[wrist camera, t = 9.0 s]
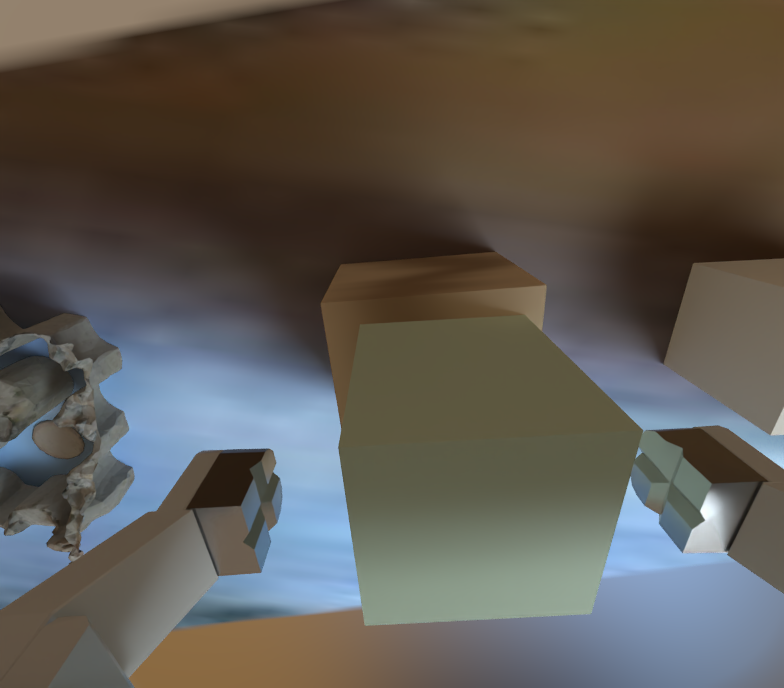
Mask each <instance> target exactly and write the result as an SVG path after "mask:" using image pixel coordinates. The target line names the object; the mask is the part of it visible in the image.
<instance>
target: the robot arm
mask: <svg viewBox="0 0 784 688" xmlns="http://www.w3.org/2000/svg"><path fill="white" fill-rule="evenodd" d="M639 448H640V450H641V452H642V453H641V454H640V455H639V456H638V457H637V458H636V459H635V461H634V465H633V468H632V472H631V475H630V476H631V481H632V486H633V488H634V490H635V492H636V495H637V496H638V498H639V499H640V500H641V501H642V503H643V504H644V505H645V506H646V507H648V508H650V509H651V510H653V511H655V512H656V513H658V514H659V524H660V526H661V527H662V528H663V529H664V531H665V532H666V533H667V534H668V536H669V537H670V538H671V539H672V541H673V542H674V543H675V544H676V546H677V547H678V548H679V549H680V551H681V552H682V553H727V552H728V554H727V555H728V556H730V557H731V558H733V559H734V560H736V561H737V562H738V563H740V564H742V565H743V566H744V567H746V568H747V569H749V570H750V571H751V572H753V573H754V574H756V575H757V576H759V577H760V578H762V579H763V580H765V581H766V582H767V583H769V584H770V585H772V586H773V587H775V588H776V589H778V590H779V591H781V592H782V593H784V469H783V468H781V467H780V466H778V465H777V464H776V463H774V462H773V461H772V460H770V459H769V458H767V457H766V456H765V455H763V454H762V453H760V452H759V451H758V450H756V449H755V448H754V447H752V446H751V445H749V444H748V443H747V442H745V441H744V440H743V439H741V438H740V437H738V436H737V435H736V434H734V433H733V432H731V431H730V430H729V429H727V428H724V427H721V426H704V427H693V428H680V429H662V430H646V431H645V432H644V433H643V434H642V436H641V440H640V443H639ZM275 465H276V460H275V456H274V453H273V451H272V450H271V449H233V450H209V451H201V452H199V453H198V454H196V455H195V457H194V458H193V460H192V461H191V462H190V464H189V465H188V467H187V468H186V470H185V471H184V472H183V474H182V475H181V477H180V478H179V480H178V481H177V482H176V484H175V485H174V487H173V488H172V490H171V491H170V492H169V494H168V495H167V497H166V498H165V500H164V501H163V502H162V504H161V505H160V507H159V508H158V510H157V511H155V512H148V513H146V514H145V515H143V516H142V517H140V518H139V519H137V520H135V521H134V522H132V523H131V524H129V525H128V526H126V527H125V528H123V529H122V530H120V531H119V532H117V533H116V534H114V535H113V536H111V537H110V538H108V539H107V540H105V541H104V542H102V543H101V544H99V545H98V546H96V547H95V548H93V549H92V550H90V551H89V552H87V553H86V554H84V555H83V556H81V557H80V558H78V559H77V560H75V561H74V562H72V563H71V564H69V565H68V566H66V567H65V568H63V569H62V570H60V571H59V572H57V573H56V574H54V575H53V576H51V577H50V578H48V579H47V580H45V581H44V582H42V583H41V584H39V585H38V586H36V587H35V588H33V589H32V590H30V591H29V592H27V593H26V594H24V595H23V596H21V597H20V598H18V599H17V600H15V601H14V602H12V603H11V604H9V605H8V606H6V607H5V608H3V609H2V610H0V688H134V686H133V685H132V683H131V682H130V680H129V679H128V678H129V677H130V676H131V675H132V674H133V672H134V671H135V670H136V669H137V668H138V667H139V666H140V665H141V664H142V663H143V661H144V660H145V659H146V658H147V657H148V656H149V655H150V654H151V653H152V651H153V650H154V649H155V648H156V647H157V646H158V645H159V644H160V643H161V642H162V640H163V639H164V638H165V637H166V636H167V635H168V634H169V633H170V632H171V630H172V629H173V628H174V627H175V626H176V625H177V624H178V623H179V622H180V621H181V619H182V618H183V617H184V616H185V615H186V614H187V613H188V612H189V611H190V609H191V608H192V607H193V606H194V605H195V604H196V603H197V602H198V601H199V600H200V598H201V597H202V596H203V595H204V594H205V593H206V592H207V591H208V590H209V588H210V587H211V586H212V585H213V584H214V583H215V582H216V581H217V580H218V576H225V575H238V574H251V573H261V572H262V569H263V566H264V563H265V559H266V556H267V553H268V550H269V547H270V544H271V539H270V535H269V532H268V531H269V530H270V529H271V528H272V527H273V526H274V525H276V524H277V522H278V519H279V515H280V512H281V504H282V486H281V481H280V478H279V477H278V476H277V475H276V474H274V473H273V470H274V467H275Z"/></svg>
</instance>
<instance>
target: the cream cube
mask: <svg viewBox="0 0 784 688" xmlns="http://www.w3.org/2000/svg"><path fill="white" fill-rule="evenodd" d="M664 365H665V366H667V367H668V368H670V369H671V370H673V371H674V372H676V373H677V374H679V375H680V376H682V377H683V378H685V379H686V380H688V381H689V382H691V383H692V384H694V385H695V386H697V387H698V388H700V389H701V390H703V391H704V392H706V393H707V394H709V395H710V396H712V397H713V398H715V399H716V400H718V401H719V402H721V403H722V404H724V405H725V406H727V407H728V408H730V409H731V410H733V411H734V412H736V413H738V414H739V415H741V416H742V417H744V418H745V419H747V420H748V421H750V422H751V423H753V424H754V425H756V426H757V427H759V428H760V429H762V430H763V431H765V432H766V433H768V434H769V435H784V258H783V259H763V260H744V261H724V262H704V263H693V265H692V269H691V272H690V275H689V279H688V282H687V286H686V289H685V292H684V296H683V299H682V303H681V306H680V309H679V313H678V316H677V319H676V323H675V326H674V330H673V333H672V336H671V340H670V343H669V347H668V350H667V353H666V357H665V360H664Z"/></svg>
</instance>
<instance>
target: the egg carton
mask: <svg viewBox="0 0 784 688" xmlns="http://www.w3.org/2000/svg"><path fill="white" fill-rule="evenodd" d="M38 338H43V339H44V340H45V341H46V342H47V343H48V351H49V358H51V359H52V360H51V359H49V358H47V357H44V356H31V357H27V358H25V359H22V360H20V361H18V362H16V363H14V364H12V365H10V366H8V367H6V368H4V369H2V370H0V449H1V448H2V447H4V446H5V445H6V444H7V443H8V441H10V440H12V439H15V438H16V437H17V436H18V435H19V434H20V433H21V432H22V431H23V430H24V429H25V428H26V427H27V426H29V425H30V424H32V423H33V422H35V421H36V420H37V419H39V418H40V417H42V416H43V415H44V414H46V413H47V412H49V411H50V410H52V409H53V408H54V407H56V406H57V405H58V404H60V403H61V402H62V401H64V400H65V399H66V400H65V402H64V404H63V406H62V408H61V410H60V412H59V413H58V414H57V415H56V416H55V418H54V419H53V420H47V421H44V422H41V423H39V424H38V425H37V426H36V427H35V428H34V431H33V437H32V439H33V441H34V443H35V444H36V445H37V446H38V448H39V449H40V450H42V451H44V452H45V453H46V454H48V455H50V456H53V457H55V458H60V459H70V458H74V457H76V456H79V455H80V454H81V453H82V452H83V451H84V445H85V444H84V442H83V438H82V437H81V435H80V434H79V433H81V434H82V435H83V437H84V438H86V439H87V440H90V441H92V442H94V446H93V451H92V453H91V454H90V455H89V456H88V457H87V458H86V459H85V460H84V461H83V462H82V463H81V464H80V465H78V466H76V467H75V468H73V469H72V470H71V471H70V472H69V473H68V474H67V475H54V476H52V477H50V478H49V479H48V480H47V481H46V482H44V483H43V484H42V485H41V486H40V487H36V486H30V485H26V484H24V483H23V481H22V480H21V479H20V478H19V477H18V476H17V475H16V474H15V473H14V472H12V471H10V470H8V469H6V468H4V467H0V527H2V528H4V529H5V530H4V535H5V536H6V535H14V534H17V533H19V532H22V531H23V530H25V529H26V528H28V527H29V526H30V525H34V524H37V525H45V526H56V527H55V529H54V530H53V531H52V533H53V534H54V535H53V536H52V537H51V538H50V539H49V541H48V542H47V547H49V548H51V549H53V550H56V551H61V552H70V554H69V557H68V558H69V559H70V560H71V561H72V562H74V561H75V560H77V559H78V558H80V557H81V556H83V554H84V553H83V551H81V550H79V547H80V545H81V544H80V541H81V534H80V532H82V531H83V530H85V529H86V528H87V527H88V526H89V524H90V523H91V522H92V521H93V520H95V519H96V518H98V517H101V516H103V515H105V514H107V513H109V512H110V511H111V510H112V509H113V508H115V507H116V506H117V505H118V504H119V503H120V501H121V500H122V498H123V497H124V495H125V493H126V492H127V490H128V489H129V487H130V486H131V484H132V483H133V481H134V471H133V468H132V467H130V466H127V465H125V464H123V463H121V462H120V461H118V460H117V459H116V458H115V457H114V456H113V455H112V453H111V452H110V449H111V448H112V447H113V446H114V445H115V444H116V443H117V442H118V441H119V439H120V438H122V437H123V436H124V435H125V434H126V433H127V432H128V431H129V426H128V423H127V420H126V418H125V414H124V411H121V410H119V409H117V408H115V407H114V406H112V405H111V404H109V403H108V402H107V401H106V400H105V399H104V397H103V395H102V394H101V392H100V388H99V384H100V383H101V382H102V381H104V380H105V379H107V378H108V377H109V376H110V375H112V374H114V373H116V372H118V371H119V370H121V369H122V357H121V353H120V350H119V348H118V347H116V346H113V345H111V344H109V343H107V342H105V341H104V340H103V339H101V338H100V337H99V336H98V335H97V334H96V332H95V331H94V330H93V328H92V326H91V324H90V322H89V320H88V319H87V317H84V316H79V315H72V314H67V313H63V314H61V315H59V316H56V317H53V318H51V319H49V320H47V321H44V322H41V323H38V324H36V325H34V326H31V327H29V328H26V329H22V328H21V327H19V326H18V325H16V324H15V323H14V322H13V321H12V320H11V319H10V318H9V317H8V316H7V315H6V313H4V310H3V309H2V308H1V306H0V356H1V355H2V354H4V353H6V352H8V351H10V350H13V349H15V348H18V347H20V346H22V345H24V344H26V343H29V342H31V341H33V340H35V339H38ZM73 368H80V369H83V371H84V380H85V381H86V386H85V387H83V388H82V389H80V390H79V391H77V392H75V393H74V394H72V392H73V389H74V384H73V380H72V378H71V375H70V374H69V372H68V370H71V369H73ZM71 394H72V395H71ZM70 395H71V396H70ZM72 427H73V428H72ZM74 428H76V430H75V429H74ZM78 432H79V433H78ZM72 562H70V563H69V564H71V563H72Z"/></svg>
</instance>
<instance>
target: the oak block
mask: <svg viewBox="0 0 784 688" xmlns="http://www.w3.org/2000/svg"><path fill="white" fill-rule="evenodd" d="M546 287H547V285H546V284H544V283H543V282H541V281H539V280H538V279H536V278H535V277H533V276H532V275H530V274H529V273H527V272H526V271H524V270H523V269H521V268H520V267H518V266H517V265H515V264H514V263H512V262H510V261H509V260H507V259H506V258H504V257H503V256H501V255H500V254H498V253H497V252H486V253H474V254H462V255H449V256H437V257H425V258H413V259H400V260H388V261H376V262H364V263H351V264H341V265H340V267H339V269H338V271H337V273H336V275H335V276H334V278H333V280H332V282H331V284H330V286H329V288H328V290H327V292H326V294H325V296H324V298H323V299H322V301H321V309H322V315H323V321H324V327H325V333H326V339H327V345H328V352H329V358H330V364H331V370H332V376H333V382H334V388H335V394H336V400H337V406H338V412H339V418H340V424H341V430H342V424H343V418H344V412H345V407H346V401H347V395H348V390H349V384H350V378H351V373H352V367H353V361H354V356H355V350H356V344H357V339H358V333H359V327H360V324H375V323H392V322H409V321H426V320H443V319H460V318H477V317H494V316H511V315H526V316H527V317H528V318H529V319H530V320H531V321H532V322H533V323H534V324H535V325H536V326H537V327H538V328H539V329H540V330H541V331H542V326H543V317H544V307H545V297H546Z"/></svg>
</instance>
